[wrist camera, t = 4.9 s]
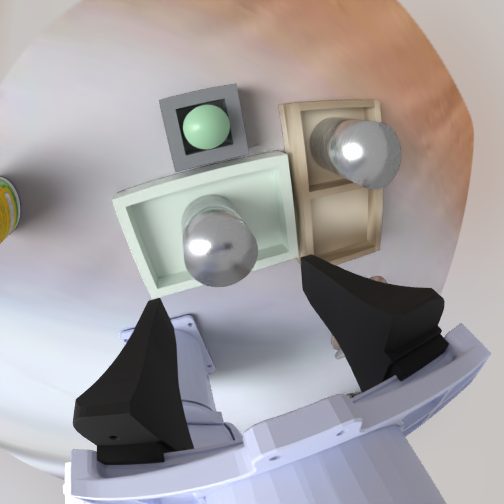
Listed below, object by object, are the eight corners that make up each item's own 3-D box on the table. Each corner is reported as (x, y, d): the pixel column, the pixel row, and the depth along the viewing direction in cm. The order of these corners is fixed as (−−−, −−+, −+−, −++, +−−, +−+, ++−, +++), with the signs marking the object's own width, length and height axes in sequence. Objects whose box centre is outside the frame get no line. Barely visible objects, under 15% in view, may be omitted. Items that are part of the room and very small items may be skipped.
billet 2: (358, 167, 22) (400, 184, 17) (312, 175, 21) (350, 195, 16) (354, 115, 19) (400, 121, 15) (306, 119, 19) (346, 123, 14)
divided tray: (365, 239, 27) (379, 249, 25) (297, 260, 26) (308, 274, 24) (361, 99, 20) (379, 100, 18) (278, 104, 18) (290, 103, 16)
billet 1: (243, 240, 23) (262, 275, 18) (190, 255, 22) (195, 294, 17) (233, 188, 20) (251, 211, 16) (174, 203, 20) (174, 232, 15)
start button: (227, 141, 17) (233, 143, 16) (187, 150, 17) (188, 154, 15) (220, 102, 16) (225, 100, 14) (179, 111, 16) (179, 110, 14)
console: (240, 150, 20) (249, 154, 17) (175, 166, 19) (175, 172, 17) (229, 87, 17) (236, 83, 15) (161, 102, 16) (158, 100, 14)
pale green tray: (289, 246, 25) (298, 257, 23) (152, 285, 23) (152, 299, 21) (277, 150, 20) (287, 154, 19) (117, 192, 18) (111, 199, 17)
